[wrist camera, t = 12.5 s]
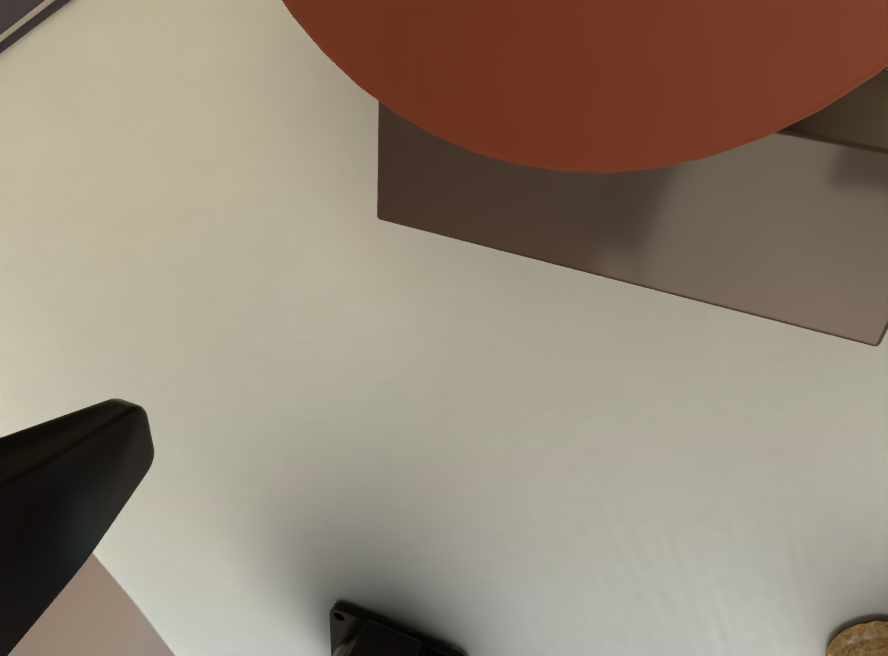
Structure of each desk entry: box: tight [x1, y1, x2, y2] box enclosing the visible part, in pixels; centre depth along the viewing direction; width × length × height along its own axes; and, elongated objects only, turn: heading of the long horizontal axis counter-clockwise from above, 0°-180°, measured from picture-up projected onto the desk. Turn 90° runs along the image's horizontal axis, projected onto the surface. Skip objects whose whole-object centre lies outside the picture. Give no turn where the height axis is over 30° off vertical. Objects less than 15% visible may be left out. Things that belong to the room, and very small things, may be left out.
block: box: [377, 71, 888, 346], centre depth 16 cm, size 4×10×5 cm, turn 86°
